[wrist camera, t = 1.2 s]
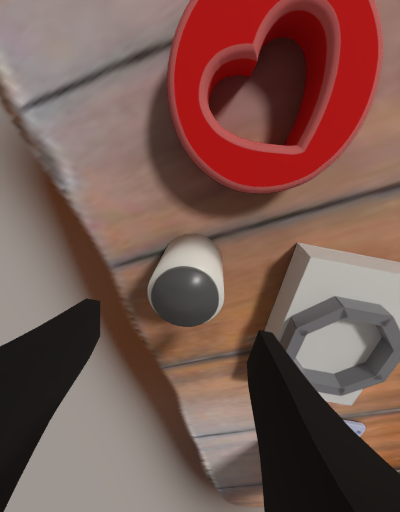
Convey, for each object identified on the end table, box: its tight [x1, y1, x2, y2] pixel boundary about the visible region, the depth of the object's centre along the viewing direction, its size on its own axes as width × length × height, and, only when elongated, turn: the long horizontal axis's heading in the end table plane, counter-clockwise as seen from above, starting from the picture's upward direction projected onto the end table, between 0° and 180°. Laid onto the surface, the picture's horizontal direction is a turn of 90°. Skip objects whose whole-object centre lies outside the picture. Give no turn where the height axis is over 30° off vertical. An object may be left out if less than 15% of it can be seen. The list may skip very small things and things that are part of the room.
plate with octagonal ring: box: [264, 243, 400, 405], centre depth 17 cm, size 12×8×4 cm, turn 170°
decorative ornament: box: [167, 0, 383, 193], centre depth 12 cm, size 10×10×3 cm
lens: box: [148, 234, 224, 327], centre depth 15 cm, size 4×4×5 cm
